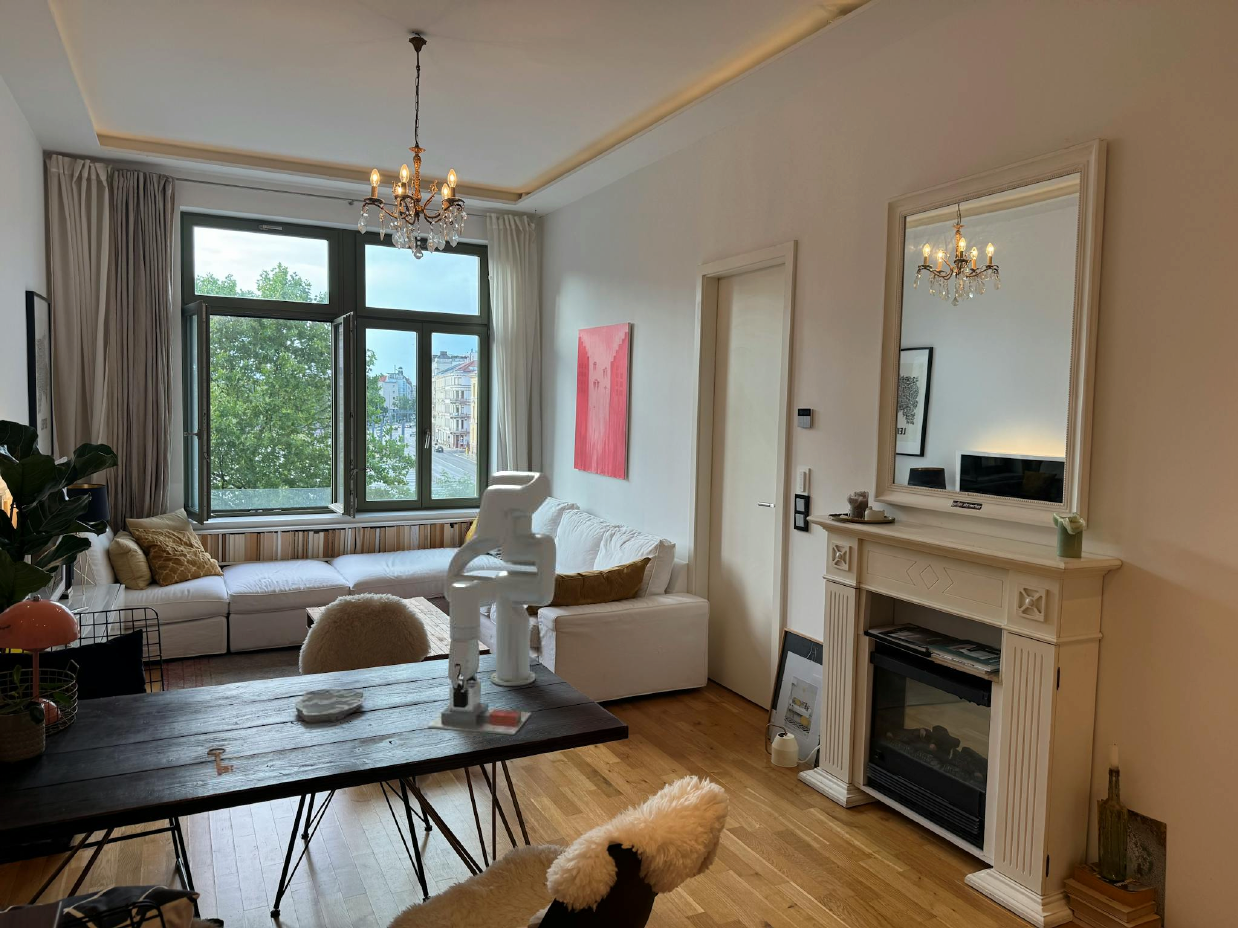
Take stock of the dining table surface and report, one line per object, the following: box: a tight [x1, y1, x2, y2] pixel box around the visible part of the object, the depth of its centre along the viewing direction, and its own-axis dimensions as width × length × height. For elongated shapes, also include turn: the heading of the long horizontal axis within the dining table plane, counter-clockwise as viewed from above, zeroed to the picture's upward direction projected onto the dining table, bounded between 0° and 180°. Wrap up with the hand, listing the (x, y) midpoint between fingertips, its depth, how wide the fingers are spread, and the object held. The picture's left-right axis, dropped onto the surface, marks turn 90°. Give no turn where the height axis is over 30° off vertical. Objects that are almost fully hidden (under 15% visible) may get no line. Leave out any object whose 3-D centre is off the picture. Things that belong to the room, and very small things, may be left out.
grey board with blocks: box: [427, 702, 532, 736], centre depth 217 cm, size 14×22×7 cm, turn 79°
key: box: [207, 747, 234, 776], centre depth 192 cm, size 6×1×15 cm
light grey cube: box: [448, 680, 482, 713], centre depth 218 cm, size 6×6×6 cm
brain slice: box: [294, 688, 367, 724], centre depth 223 cm, size 20×17×3 cm
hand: (465, 701), depth 218 cm, fingers open, 6 cm apart
